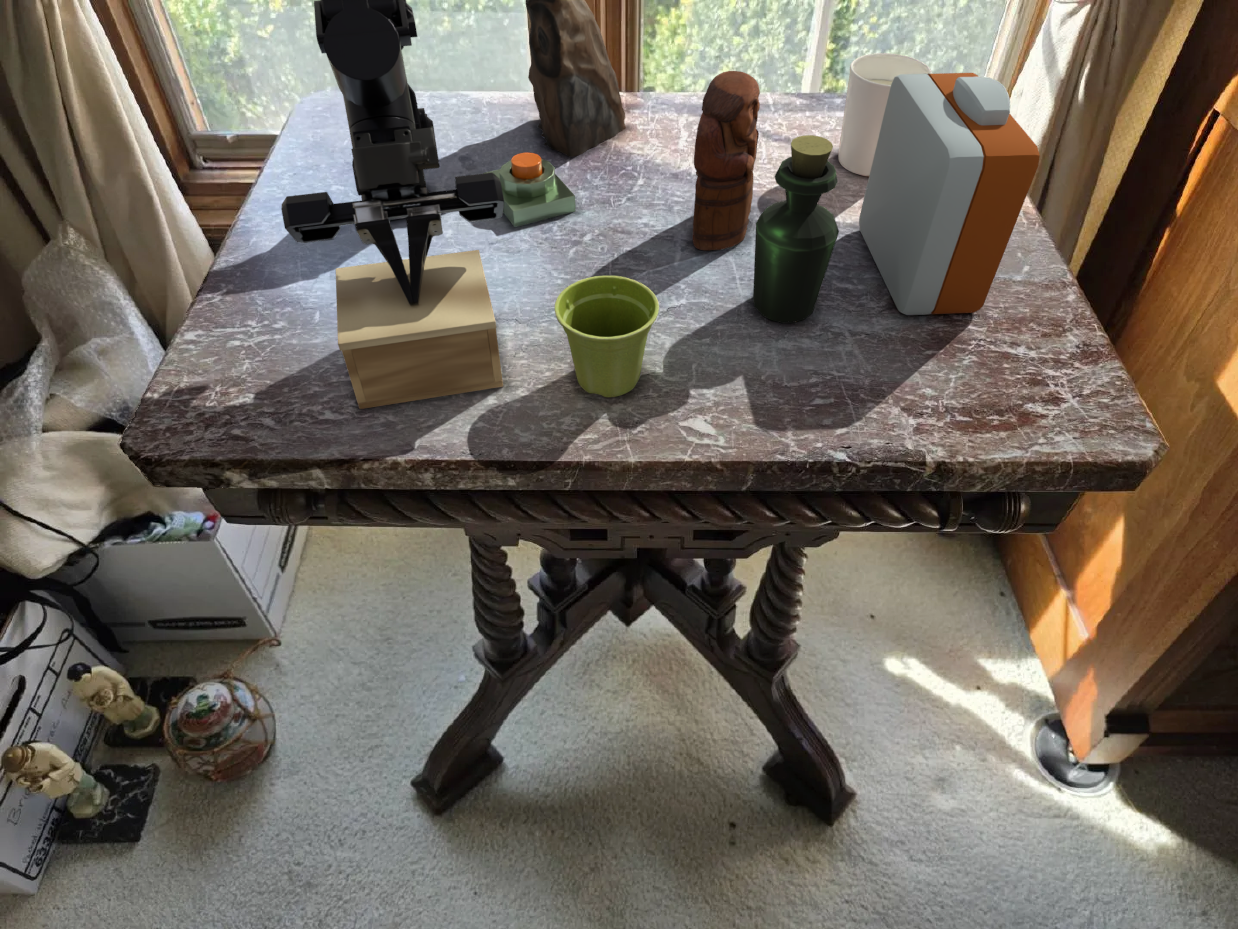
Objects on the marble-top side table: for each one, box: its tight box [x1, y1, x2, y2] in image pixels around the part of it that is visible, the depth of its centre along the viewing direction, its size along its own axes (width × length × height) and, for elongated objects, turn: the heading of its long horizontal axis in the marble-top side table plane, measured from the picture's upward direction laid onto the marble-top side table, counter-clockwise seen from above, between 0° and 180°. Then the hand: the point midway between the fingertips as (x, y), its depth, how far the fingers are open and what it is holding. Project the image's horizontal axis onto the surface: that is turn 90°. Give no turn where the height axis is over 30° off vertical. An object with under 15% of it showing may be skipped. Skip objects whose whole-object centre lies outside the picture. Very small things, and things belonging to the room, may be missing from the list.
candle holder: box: [837, 52, 933, 177], centre depth 108 cm, size 10×10×12 cm
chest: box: [341, 327, 504, 410], centre depth 81 cm, size 11×14×8 cm
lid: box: [335, 249, 497, 352], centre depth 78 cm, size 12×14×1 cm
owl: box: [525, 0, 627, 158], centre depth 110 cm, size 13×13×20 cm
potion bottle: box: [752, 134, 840, 324], centre depth 84 cm, size 8×8×18 cm
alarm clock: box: [858, 72, 1041, 316], centre depth 88 cm, size 18×9×21 cm, turn 4°
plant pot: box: [554, 275, 660, 398], centre depth 80 cm, size 9×9×9 cm
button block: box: [482, 158, 576, 228], centre depth 104 cm, size 10×8×4 cm
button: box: [510, 151, 542, 179], centre depth 102 cm, size 4×4×2 cm
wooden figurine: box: [692, 70, 761, 251], centre depth 94 cm, size 12×6×18 cm, turn 164°
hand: (414, 304), depth 76 cm, fingers closed, pressing on lid
